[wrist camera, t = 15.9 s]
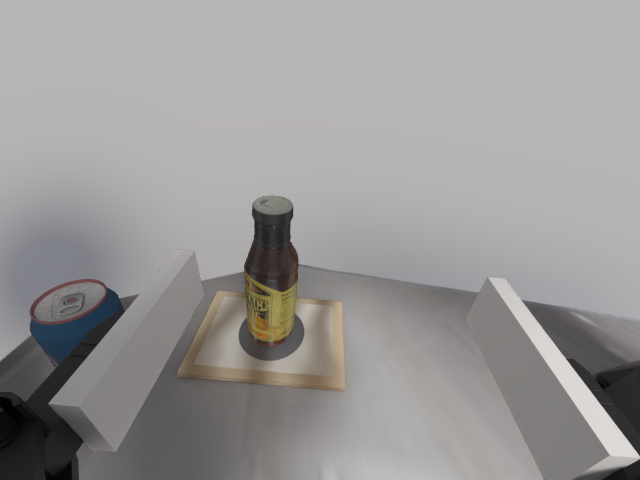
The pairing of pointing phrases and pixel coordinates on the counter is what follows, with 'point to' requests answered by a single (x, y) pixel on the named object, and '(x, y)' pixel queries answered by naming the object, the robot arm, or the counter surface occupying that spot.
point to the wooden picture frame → (269, 362)
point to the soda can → (71, 315)
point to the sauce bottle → (271, 272)
